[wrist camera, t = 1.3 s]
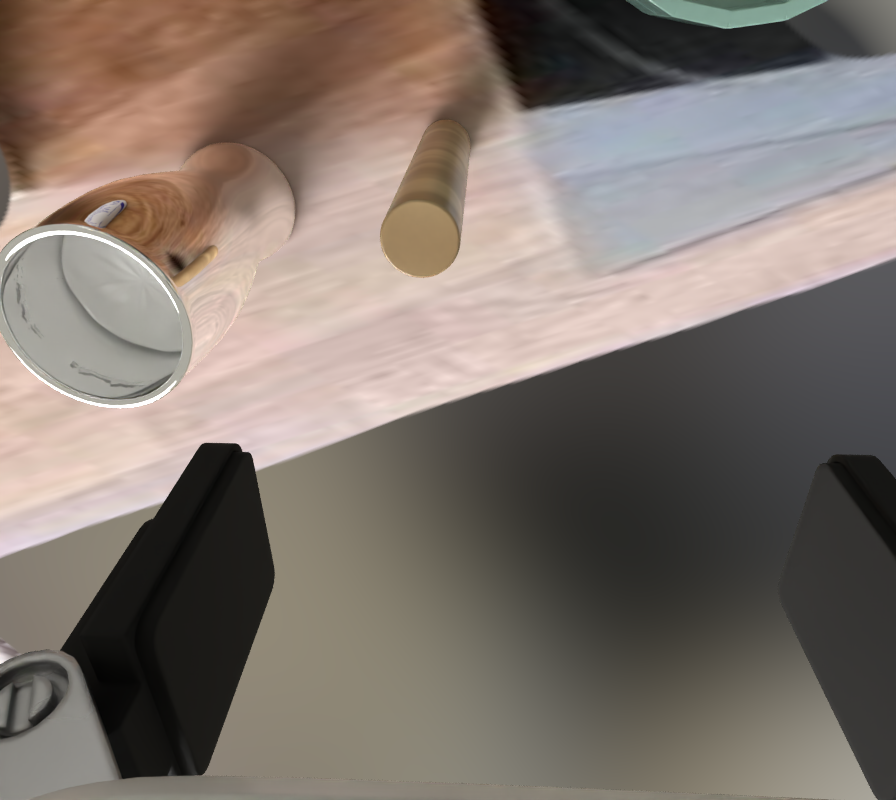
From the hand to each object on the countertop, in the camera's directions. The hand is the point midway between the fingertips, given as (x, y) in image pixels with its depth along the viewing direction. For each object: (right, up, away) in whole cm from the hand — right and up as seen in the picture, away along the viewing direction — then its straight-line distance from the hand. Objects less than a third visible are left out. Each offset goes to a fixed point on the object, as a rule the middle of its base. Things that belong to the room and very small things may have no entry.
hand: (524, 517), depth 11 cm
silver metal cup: (-12, +12, +24) cm, 29 cm away
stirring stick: (-1, +14, +21) cm, 26 cm away
